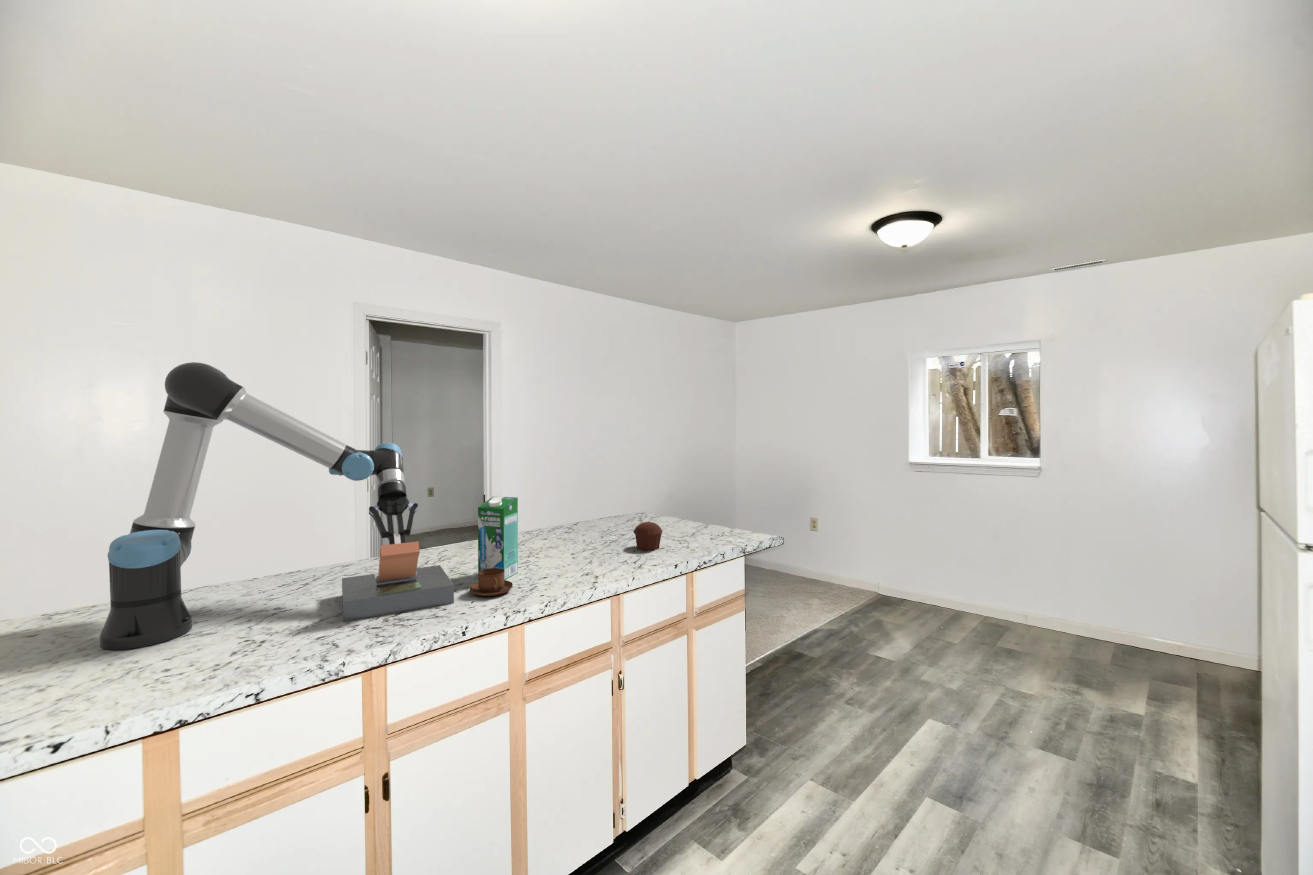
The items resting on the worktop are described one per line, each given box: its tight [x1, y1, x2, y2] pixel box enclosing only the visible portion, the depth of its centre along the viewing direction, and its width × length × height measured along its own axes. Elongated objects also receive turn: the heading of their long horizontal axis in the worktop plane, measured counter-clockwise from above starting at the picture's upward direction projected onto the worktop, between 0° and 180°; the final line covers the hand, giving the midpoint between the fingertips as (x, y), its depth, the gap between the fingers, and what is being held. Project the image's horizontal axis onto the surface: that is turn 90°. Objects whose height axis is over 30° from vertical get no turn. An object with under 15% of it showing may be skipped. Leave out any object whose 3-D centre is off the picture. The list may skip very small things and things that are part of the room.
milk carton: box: [477, 495, 519, 581], centre depth 167 cm, size 9×9×25 cm
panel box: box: [341, 564, 455, 623], centre depth 145 cm, size 22×26×5 cm
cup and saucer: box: [469, 568, 514, 597], centre depth 152 cm, size 12×12×6 cm
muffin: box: [632, 521, 663, 552], centre depth 205 cm, size 12×11×10 cm
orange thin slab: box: [376, 541, 420, 584], centre depth 141 cm, size 3×10×15 cm
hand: (398, 557), depth 141 cm, fingers closed
